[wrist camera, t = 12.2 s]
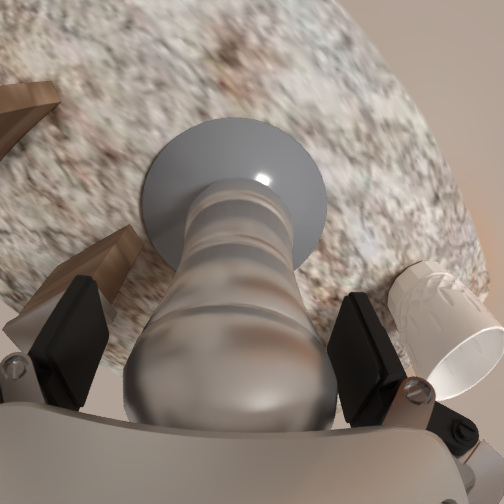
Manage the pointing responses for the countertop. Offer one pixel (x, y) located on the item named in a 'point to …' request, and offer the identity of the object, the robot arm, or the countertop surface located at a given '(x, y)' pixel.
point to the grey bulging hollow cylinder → (232, 327)
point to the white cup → (444, 329)
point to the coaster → (227, 166)
